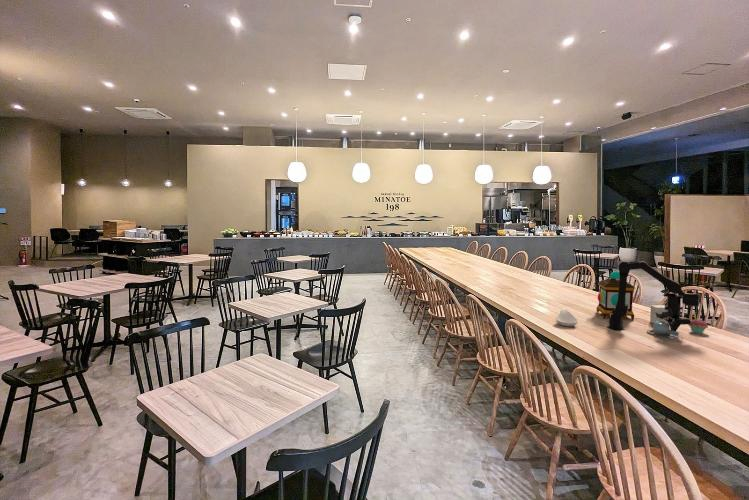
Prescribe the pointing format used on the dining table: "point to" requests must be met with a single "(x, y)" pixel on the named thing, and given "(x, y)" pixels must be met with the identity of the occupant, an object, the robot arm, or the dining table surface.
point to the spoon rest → (566, 318)
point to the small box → (653, 314)
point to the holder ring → (656, 334)
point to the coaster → (668, 338)
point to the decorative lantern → (613, 295)
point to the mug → (663, 329)
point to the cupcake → (698, 325)
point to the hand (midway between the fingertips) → (673, 332)
